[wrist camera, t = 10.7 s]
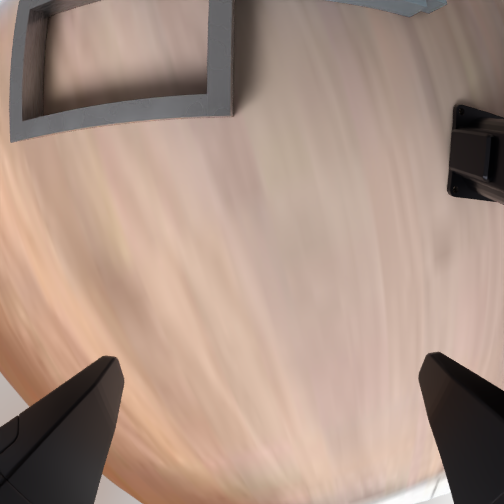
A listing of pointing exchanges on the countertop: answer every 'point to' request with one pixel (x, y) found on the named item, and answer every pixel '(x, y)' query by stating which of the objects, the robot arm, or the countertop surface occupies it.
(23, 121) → the metal collar
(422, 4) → the slate tray
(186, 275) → the countertop surface
